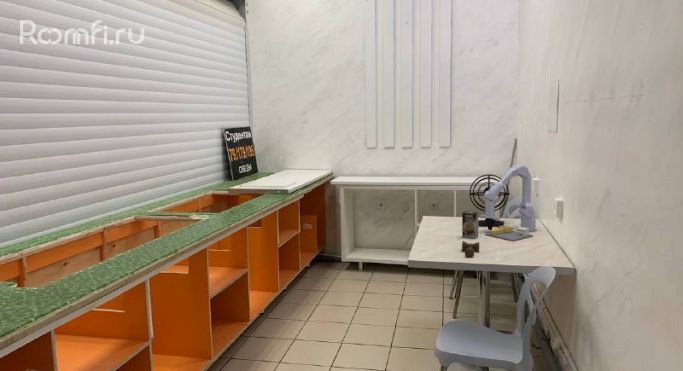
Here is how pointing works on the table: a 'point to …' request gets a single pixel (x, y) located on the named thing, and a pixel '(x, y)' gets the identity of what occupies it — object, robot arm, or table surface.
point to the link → (501, 230)
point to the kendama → (470, 248)
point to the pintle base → (512, 234)
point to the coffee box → (470, 224)
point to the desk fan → (482, 222)
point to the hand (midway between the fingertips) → (490, 229)
